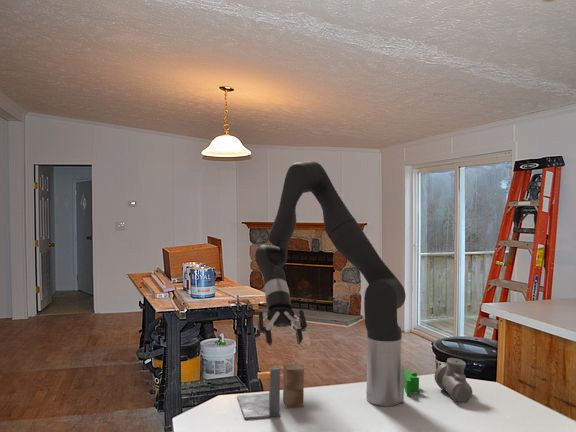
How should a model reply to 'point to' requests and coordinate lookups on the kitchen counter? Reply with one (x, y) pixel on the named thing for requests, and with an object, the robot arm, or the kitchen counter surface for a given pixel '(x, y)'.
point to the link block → (293, 385)
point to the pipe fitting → (453, 379)
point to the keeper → (263, 398)
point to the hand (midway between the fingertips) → (285, 343)
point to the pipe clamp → (411, 382)
